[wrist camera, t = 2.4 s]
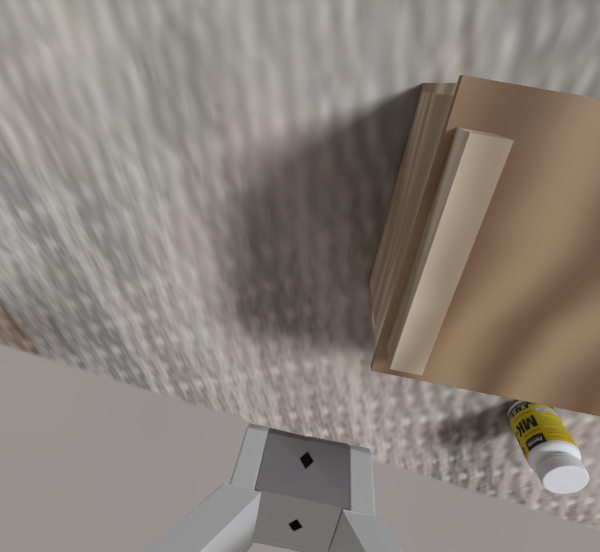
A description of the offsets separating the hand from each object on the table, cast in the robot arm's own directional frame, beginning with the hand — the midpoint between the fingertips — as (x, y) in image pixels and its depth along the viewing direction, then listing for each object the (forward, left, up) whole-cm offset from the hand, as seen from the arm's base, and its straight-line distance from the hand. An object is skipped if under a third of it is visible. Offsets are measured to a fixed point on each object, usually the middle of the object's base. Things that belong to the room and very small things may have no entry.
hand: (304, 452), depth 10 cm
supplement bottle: (+26, -21, -28) cm, 44 cm away
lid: (+14, 0, -16) cm, 21 cm away
